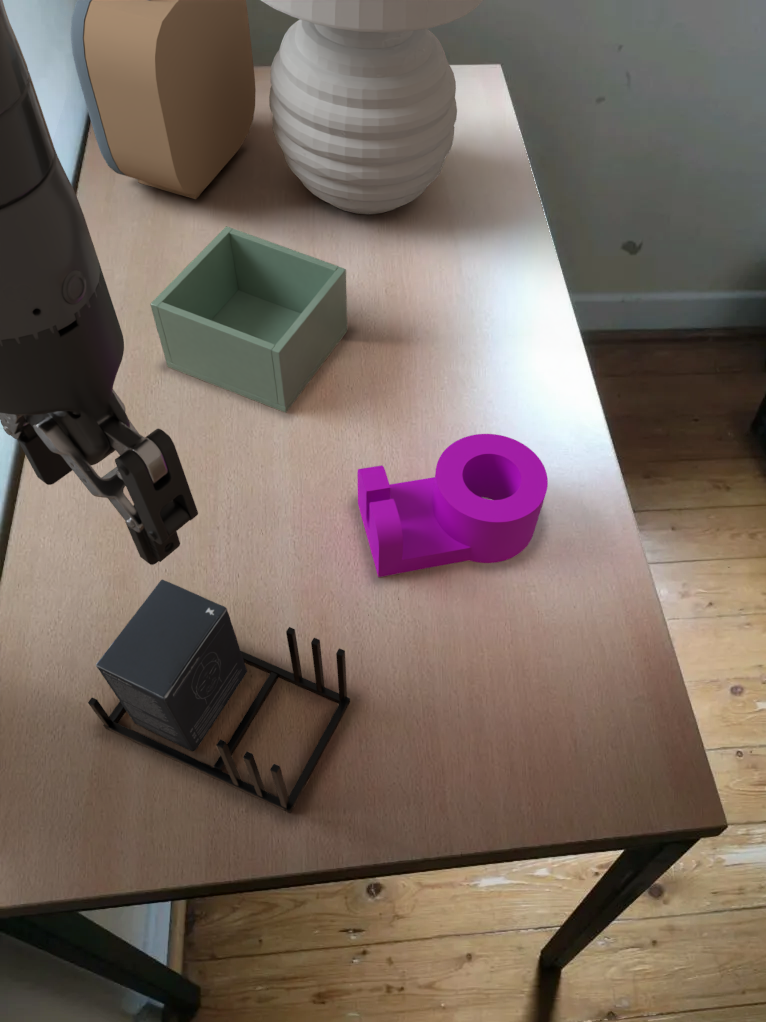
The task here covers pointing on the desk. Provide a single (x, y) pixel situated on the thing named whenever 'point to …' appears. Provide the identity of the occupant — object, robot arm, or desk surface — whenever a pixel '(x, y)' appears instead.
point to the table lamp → (365, 98)
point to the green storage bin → (252, 317)
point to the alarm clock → (166, 86)
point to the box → (175, 664)
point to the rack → (229, 748)
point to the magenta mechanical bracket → (455, 507)
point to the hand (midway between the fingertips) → (109, 512)
